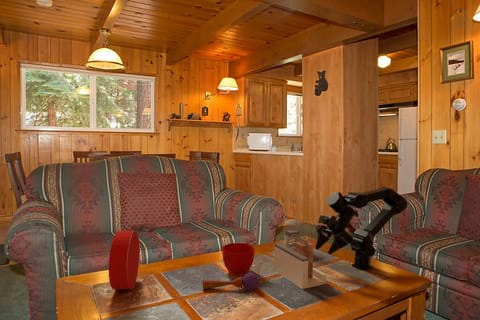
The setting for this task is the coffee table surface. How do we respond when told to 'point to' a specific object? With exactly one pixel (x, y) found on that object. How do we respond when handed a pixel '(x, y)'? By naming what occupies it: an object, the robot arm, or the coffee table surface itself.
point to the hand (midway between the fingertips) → (322, 251)
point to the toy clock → (124, 260)
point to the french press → (293, 232)
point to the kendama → (235, 282)
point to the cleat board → (296, 267)
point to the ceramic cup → (238, 257)
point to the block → (306, 253)
